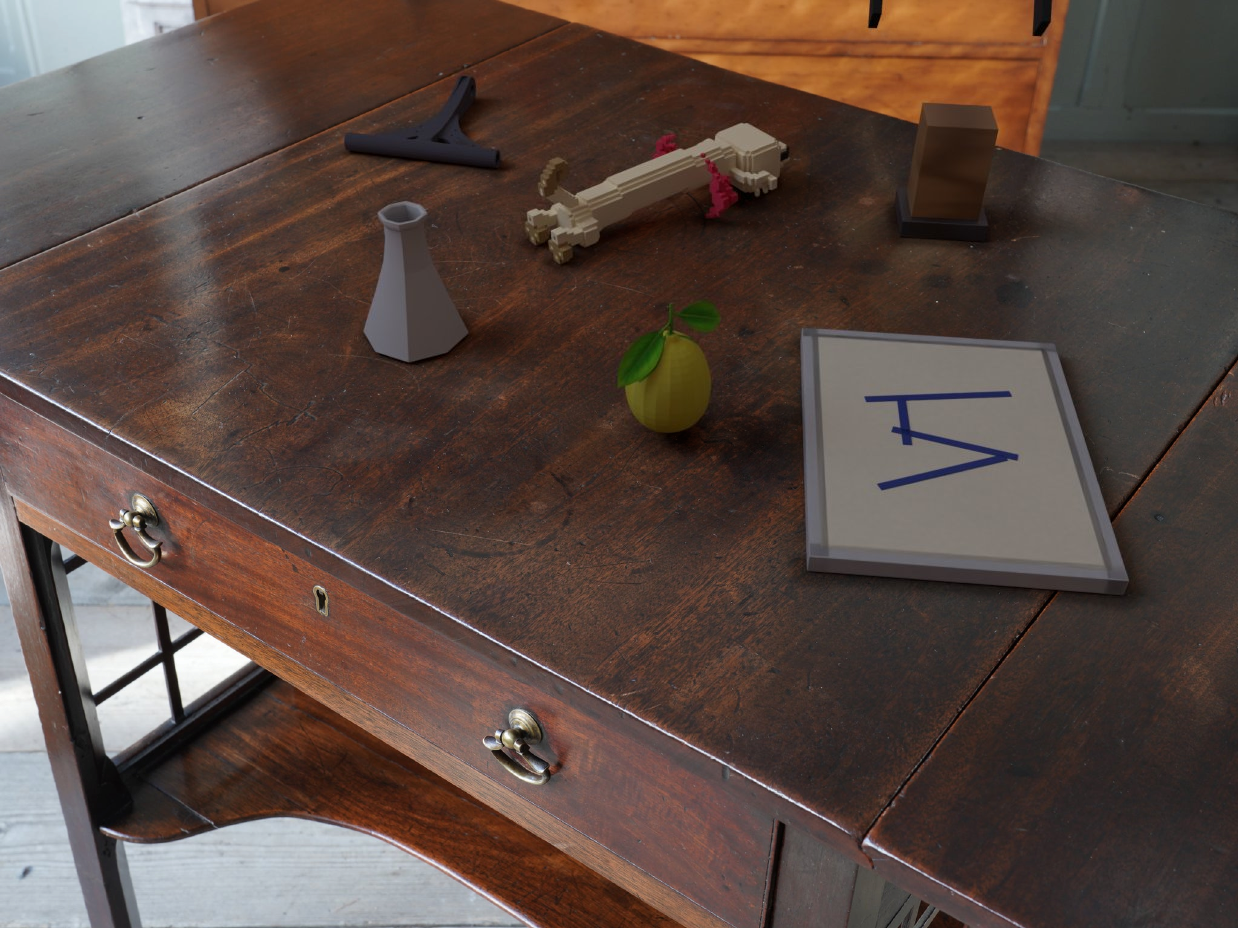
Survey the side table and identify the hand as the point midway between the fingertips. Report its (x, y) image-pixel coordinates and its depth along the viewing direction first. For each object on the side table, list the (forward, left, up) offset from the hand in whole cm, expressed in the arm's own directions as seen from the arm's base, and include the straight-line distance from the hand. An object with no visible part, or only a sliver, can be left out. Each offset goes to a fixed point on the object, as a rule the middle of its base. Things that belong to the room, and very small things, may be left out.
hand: (957, 25), depth 101 cm
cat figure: (+23, +9, -14) cm, 28 cm away
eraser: (0, +8, -14) cm, 16 cm away
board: (+3, +40, -14) cm, 42 cm away
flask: (+40, +30, -14) cm, 52 cm away
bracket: (+45, -5, -14) cm, 47 cm away
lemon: (+21, +39, -14) cm, 47 cm away
